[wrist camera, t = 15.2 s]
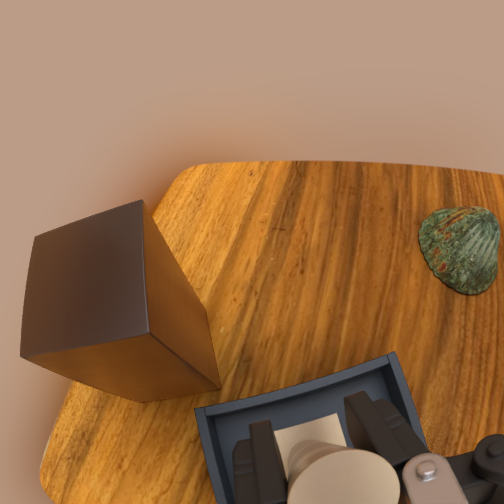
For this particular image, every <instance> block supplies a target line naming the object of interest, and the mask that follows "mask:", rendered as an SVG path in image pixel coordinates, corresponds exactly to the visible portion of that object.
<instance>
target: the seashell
mask: <svg viewBox="0 0 504 504" xmlns="http://www.w3.org/2000/svg"><path fill="white" fill-rule="evenodd" d="M432 213H433V214H431V215H429V216H428V218H427V219H426V220H424V221H423V222H422V228H421V229H420V230H419V232H418V234H419V243H420V246H421V252H423V253H424V257H425V260H426V261H427V262H428V263H429V267H430V269H432V270H433V272H434V274H435V276H437V277H439V278H440V279H441V281H442V282H444V283H445V284H446V285H448V286H449V287H451V288H454V289H455V290H456V291H457V292H459V293H463V294H472V295H473V294H479V293H481V292H483V291H485V290H487V289H488V288H489V286H490V285H491V284H492V283H493V281H494V279H495V277H496V275H497V273H498V262H497V255H498V253H497V251H498V244H499V239H500V228H499V224H498V221H497V219H496V217H495V216H494V214H493V213H491V212H490V211H489V210H487V209H485V208H482V207H476V206H464V207H462V206H461V207H455V208H449V207H446V208H441V209H439V210H437V211H434V212H432Z"/></svg>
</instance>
